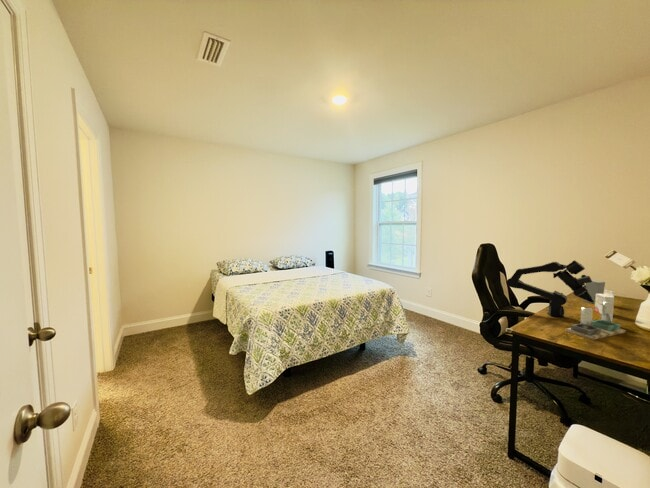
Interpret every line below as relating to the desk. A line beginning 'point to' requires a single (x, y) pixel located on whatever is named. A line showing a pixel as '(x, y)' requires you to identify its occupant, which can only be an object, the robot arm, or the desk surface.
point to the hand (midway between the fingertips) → (592, 300)
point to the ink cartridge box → (601, 298)
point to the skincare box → (595, 289)
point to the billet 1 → (586, 318)
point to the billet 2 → (607, 311)
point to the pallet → (596, 329)
